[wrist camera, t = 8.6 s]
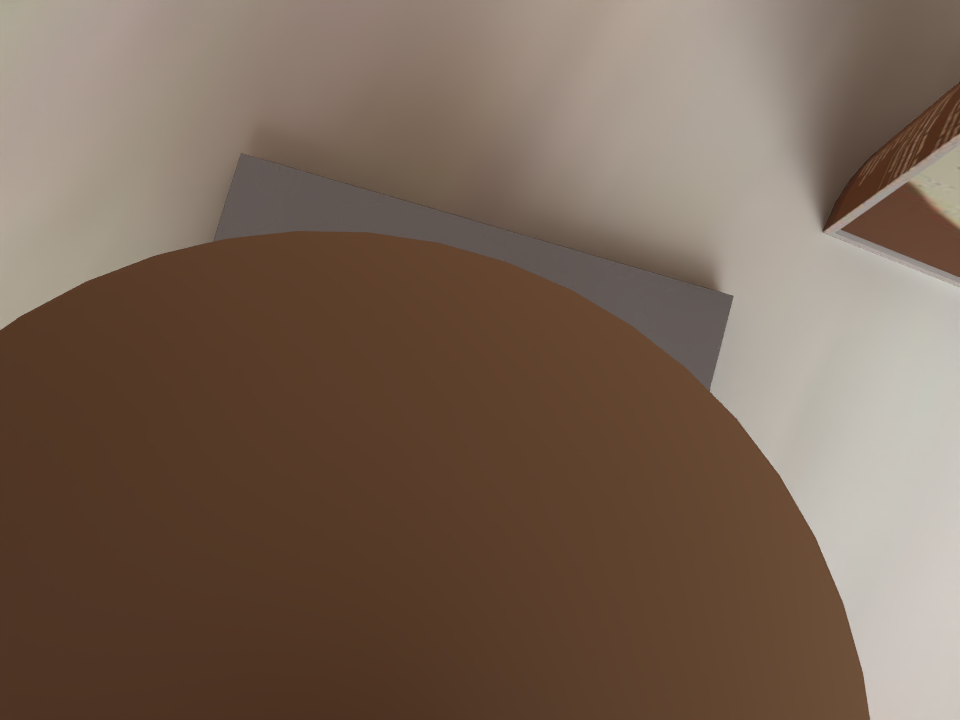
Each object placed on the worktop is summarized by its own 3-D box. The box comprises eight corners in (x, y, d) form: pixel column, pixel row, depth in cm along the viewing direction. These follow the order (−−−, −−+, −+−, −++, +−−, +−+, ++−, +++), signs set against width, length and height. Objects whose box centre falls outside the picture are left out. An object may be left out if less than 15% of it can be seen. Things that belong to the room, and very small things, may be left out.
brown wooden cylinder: (443, 637, 16) (470, 1663, 3) (269, 518, 16) (-532, 976, 3) (559, 461, 16) (1075, 628, 3) (389, 345, 16) (190, 21, 3)
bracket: (596, 790, 19) (638, 886, 15) (94, 655, 19) (3, 718, 15) (721, 300, 20) (792, 271, 16) (248, 164, 20) (202, 99, 16)
